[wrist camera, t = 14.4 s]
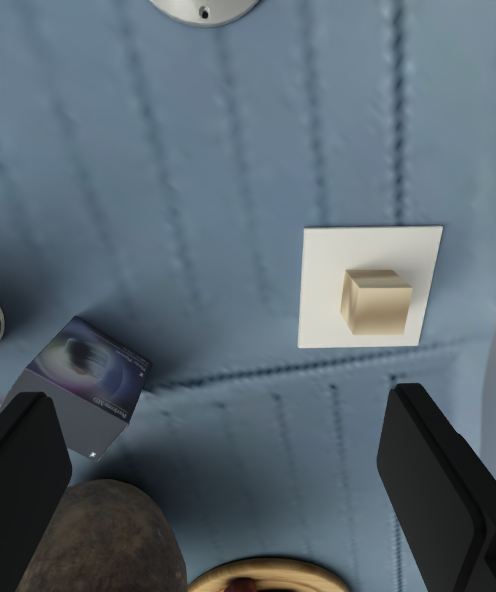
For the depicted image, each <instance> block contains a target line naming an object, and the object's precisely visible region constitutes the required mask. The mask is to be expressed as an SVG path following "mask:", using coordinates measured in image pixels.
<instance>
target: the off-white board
mask: <svg viewBox="0 0 496 592" xmlns="http://www.w3.org/2000/svg"><path fill="white" fill-rule="evenodd" d="M442 230H443V227H442V226H384V227H319V228H304V238H303V257H302V275H301V294H300V312H299V331H298V348H329V347H378V346H418V342H419V338H420V333H421V328H422V324H423V319H424V314H425V310H426V305H427V300H428V295H429V291H430V286H431V281H432V277H433V272H434V267H435V263H436V258H437V253H438V249H439V244H440V239H441V234H442ZM345 270H393V271H394V272H395V273H396V274H397V275H399V276H400V277H401V278H402V279H403V280H404V281H406V282H407V283H408V284H409V285H410V286H411V287H413V290H412V295H411V300H410V305H409V310H408V315H407V320H406V324H405V329H404V334H403V335H353V334H352V332H351V330H350V329H349V327H348V325H347V323H346V322H345V320H344V318H343V316H342V315H341V313H340V310H341V301H342V293H343V284H344V276H345Z"/></svg>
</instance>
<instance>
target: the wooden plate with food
mask: <svg viewBox="0 0 496 592" xmlns="http://www.w3.org/2000/svg"><path fill="white" fill-rule="evenodd" d="M187 588H188V592H351V591H350V589H349V588H348V586H347V585H346V584H345V583H344V582H343V581H342V580H341V579H340V578H339V577H338V576H336V575H335V574H333V573H331V572H329V571H328V570H326V569H324V568H322V567H319V566H316V565H313V564H310V563H307V562H303V561H298V560H292V559H282V558H257V559H248V560H242V561H237V562H233V563H229V564H225V565H223V566H220V567H217V568H214V569H212V570H210V571H208V572H206V573H205V574H203V575H201V576H200V577H198V578H197V579H195V580H194V581H193V582H192V583H190V584H189V585H188V586H187Z"/></svg>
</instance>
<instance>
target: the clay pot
mask: <svg viewBox="0 0 496 592" xmlns="http://www.w3.org/2000/svg"><path fill="white" fill-rule="evenodd" d="M15 592H188V588H187V574H186V565H185V562H184V559H183V556H182V554H181V551H180V548H179V546H178V543H177V540H176V538H175V535H174V533H173V531H172V529H171V527H170V525H169V523H168V521H167V520H166V518H165V516H164V514H163V512H162V510H161V509H160V507H159V506H158V505H157V504H156V503H155V502H154V501H153V500H152V499H151V498H150V497H149V496H148V495H147V494H146V493H145V492H143V491H142V490H140V489H139V488H137V487H135V486H134V485H131V484H127V483H124V482H120V481H117V480H113V479H99V480H92V481H88V482H84V483H80V484H77V485H74V486H71V487H68V488H66V490H65V492H64V494H63V496H62V498H61V500H60V502H59V504H58V506H57V508H56V510H55V512H54V514H53V516H52V518H51V520H50V522H49V524H48V526H47V528H46V530H45V532H44V535H43V537H42V539H41V541H40V543H39V545H38V547H37V549H36V551H35V553H34V555H33V557H32V559H31V561H30V563H29V565H28V567H27V569H26V571H25V573H24V575H23V577H22V579H21V581H20V583H19V585H18V587H17V589H16V591H15Z"/></svg>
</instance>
